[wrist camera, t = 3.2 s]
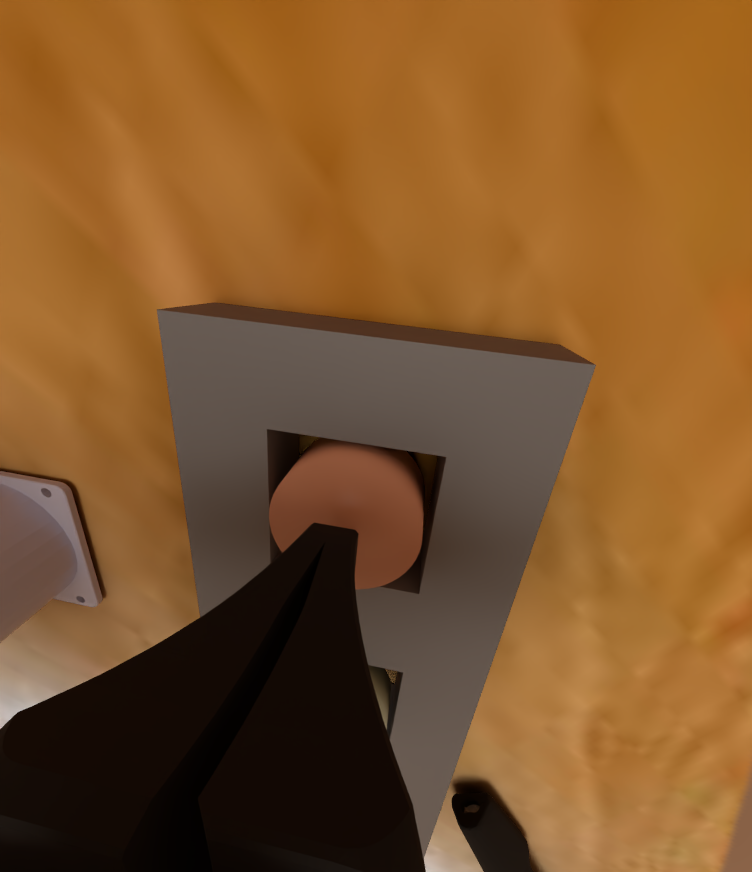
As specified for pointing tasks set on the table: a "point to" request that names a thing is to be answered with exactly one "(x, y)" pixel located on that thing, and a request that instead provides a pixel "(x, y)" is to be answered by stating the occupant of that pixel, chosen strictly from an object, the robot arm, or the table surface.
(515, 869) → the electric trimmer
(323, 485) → the terracotta button
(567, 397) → the button panel
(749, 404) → the table surface
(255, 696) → the robot arm
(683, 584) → the table surface
